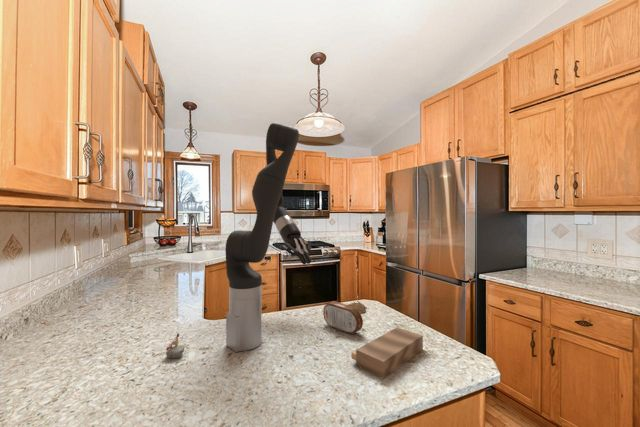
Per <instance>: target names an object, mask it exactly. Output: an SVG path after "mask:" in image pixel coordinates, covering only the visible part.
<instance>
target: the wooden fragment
mask: <svg viewBox="0 0 640 427" xmlns="http://www.w3.org/2000/svg"><path fill="white" fill-rule="evenodd" d="M356 301H357V302H358V303H355V302H356ZM356 301H354V302H351V303H349V304H348V305H349V306H352V307H354V308H356V309H357V310H358V311H359V312H360V314H364V313H365V312H367V310H366V309H367V307H366V306H365V305H364V304H363V303H361V301H359V300H356Z"/></svg>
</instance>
